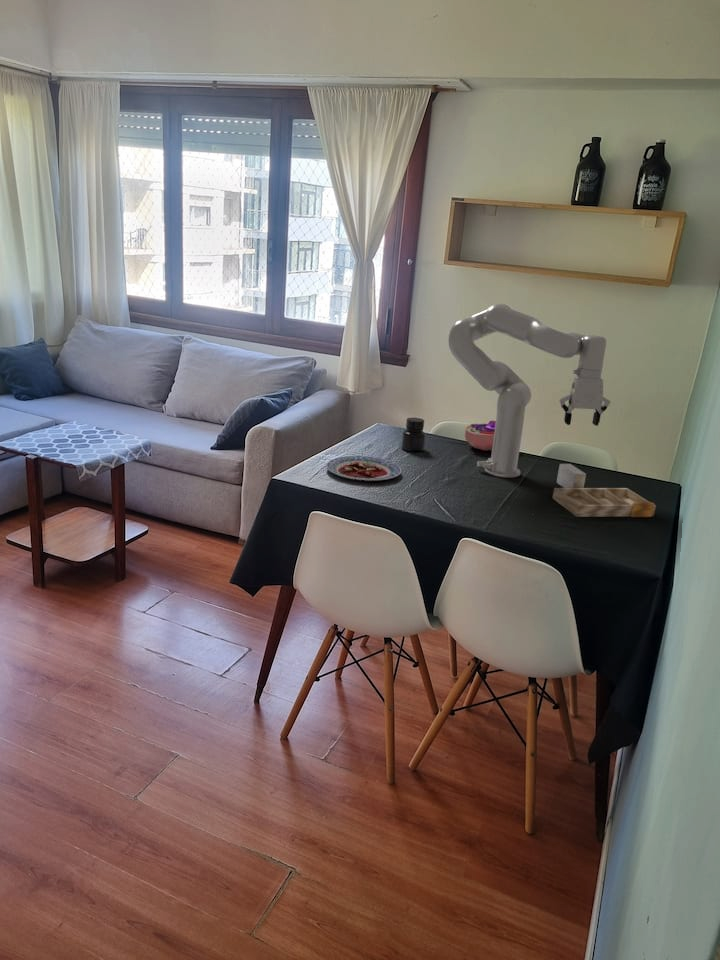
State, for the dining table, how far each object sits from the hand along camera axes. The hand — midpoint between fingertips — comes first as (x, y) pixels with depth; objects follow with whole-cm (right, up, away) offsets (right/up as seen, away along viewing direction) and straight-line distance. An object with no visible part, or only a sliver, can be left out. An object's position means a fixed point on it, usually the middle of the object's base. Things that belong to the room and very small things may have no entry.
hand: (581, 424), depth 226 cm
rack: (+3, -27, -12) cm, 30 cm away
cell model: (-24, -6, +44) cm, 51 cm away
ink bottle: (-54, -7, +36) cm, 66 cm away
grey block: (-3, -22, +4) cm, 22 cm away
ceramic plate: (-74, -17, +4) cm, 76 cm away
